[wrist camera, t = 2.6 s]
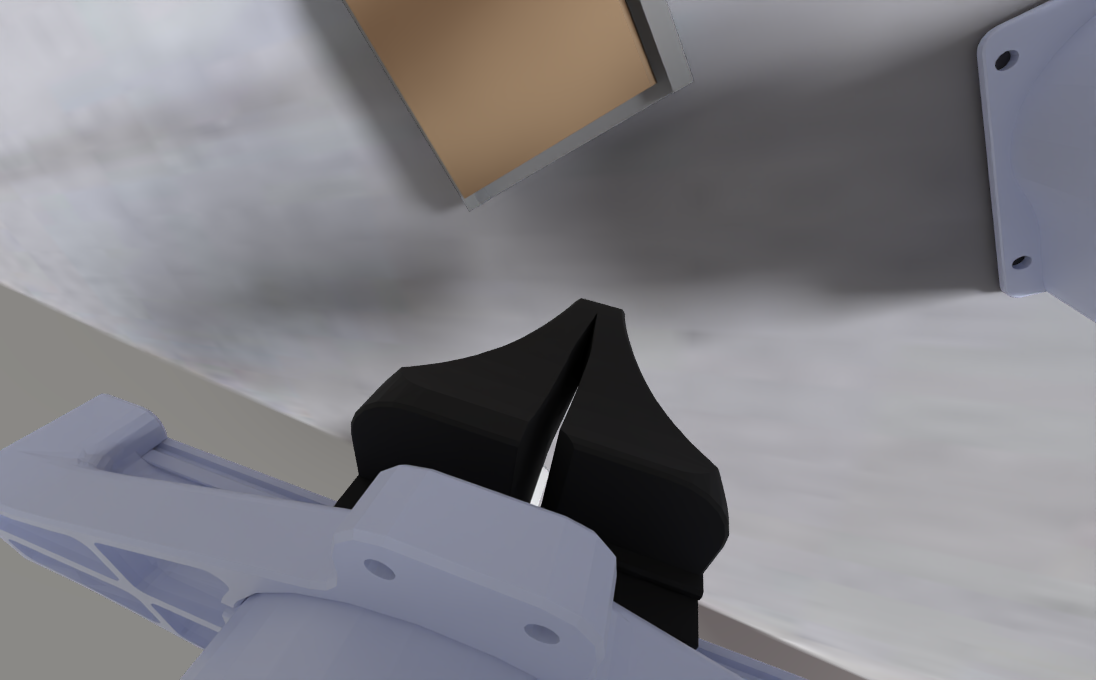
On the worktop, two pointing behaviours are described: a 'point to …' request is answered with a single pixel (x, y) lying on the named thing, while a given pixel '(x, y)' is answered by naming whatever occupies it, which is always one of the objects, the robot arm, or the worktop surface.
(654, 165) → the worktop surface
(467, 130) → the cover
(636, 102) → the grey piece
